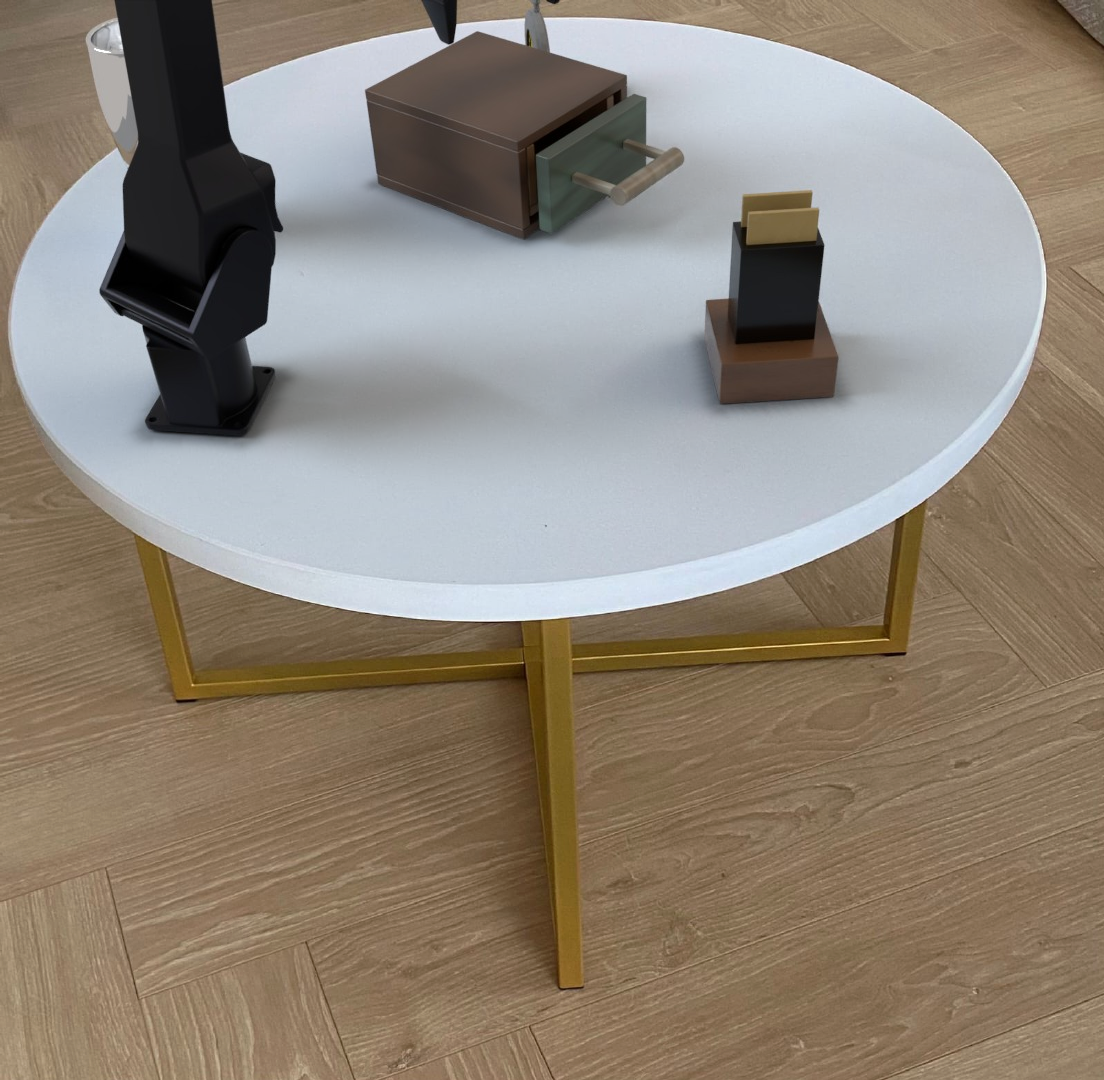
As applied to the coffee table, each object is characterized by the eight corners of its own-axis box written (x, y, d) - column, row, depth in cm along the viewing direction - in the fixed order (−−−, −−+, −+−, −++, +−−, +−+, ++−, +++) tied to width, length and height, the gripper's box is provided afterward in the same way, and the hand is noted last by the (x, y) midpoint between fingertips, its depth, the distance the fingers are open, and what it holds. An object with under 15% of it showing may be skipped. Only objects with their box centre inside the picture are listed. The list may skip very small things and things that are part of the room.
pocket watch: (636, 94, 114) (636, -27, 107) (565, 129, 110) (561, 5, 103) (568, 67, 118) (564, -51, 112) (497, 100, 114) (488, -20, 107)
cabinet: (627, 170, 104) (627, 74, 99) (523, 240, 97) (517, 141, 92) (484, 121, 111) (477, 30, 106) (377, 184, 104) (364, 89, 99)
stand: (834, 397, 82) (839, 356, 80) (719, 404, 82) (721, 364, 80) (812, 332, 88) (816, 292, 86) (704, 338, 88) (705, 299, 86)
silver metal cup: (212, 260, 97) (163, 56, 87) (122, 253, 98) (63, 51, 88) (247, 211, 102) (204, 12, 92) (161, 205, 103) (109, 8, 93)
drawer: (700, 188, 100) (703, 113, 96) (607, 255, 94) (606, 178, 90) (509, 124, 109) (505, 54, 105) (413, 182, 103) (404, 109, 99)
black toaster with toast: (814, 339, 82) (828, 213, 76) (735, 344, 82) (742, 218, 76) (804, 309, 84) (817, 185, 78) (727, 315, 84) (734, 190, 78)
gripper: (517, -286, 90) (529, -46, 101) (278, -226, 82) (320, 29, 92) (631, -259, 84) (632, -6, 95) (386, -191, 75) (417, 79, 86)
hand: (500, 21), depth 92 cm, fingers open, 9 cm apart
